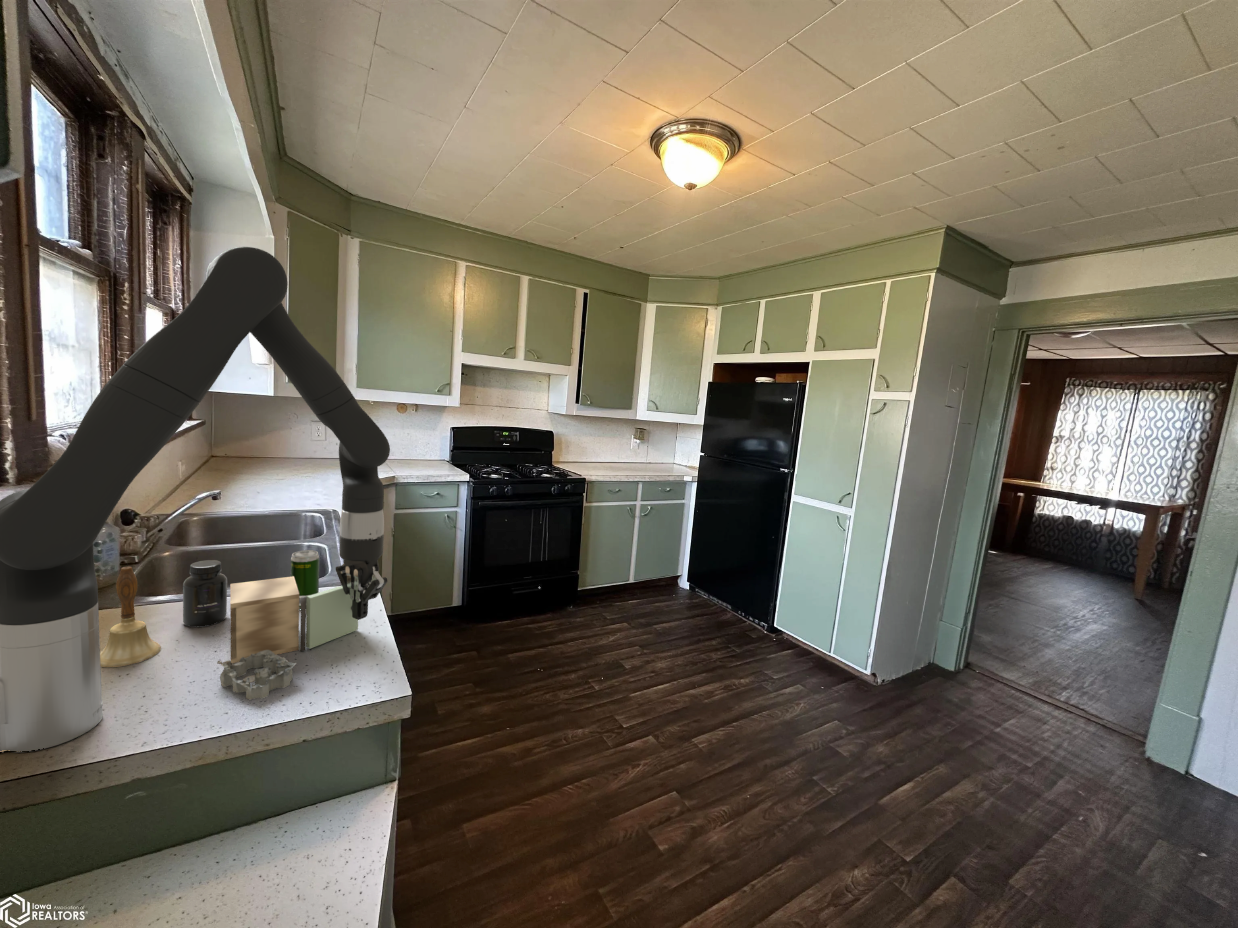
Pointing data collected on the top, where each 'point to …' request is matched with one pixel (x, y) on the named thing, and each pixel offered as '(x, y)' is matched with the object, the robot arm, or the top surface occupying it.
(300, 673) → the top surface
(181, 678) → the top surface
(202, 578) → the supplement bottle
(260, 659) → the egg carton
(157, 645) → the hand bell
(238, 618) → the cupboard
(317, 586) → the beer can
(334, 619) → the door
